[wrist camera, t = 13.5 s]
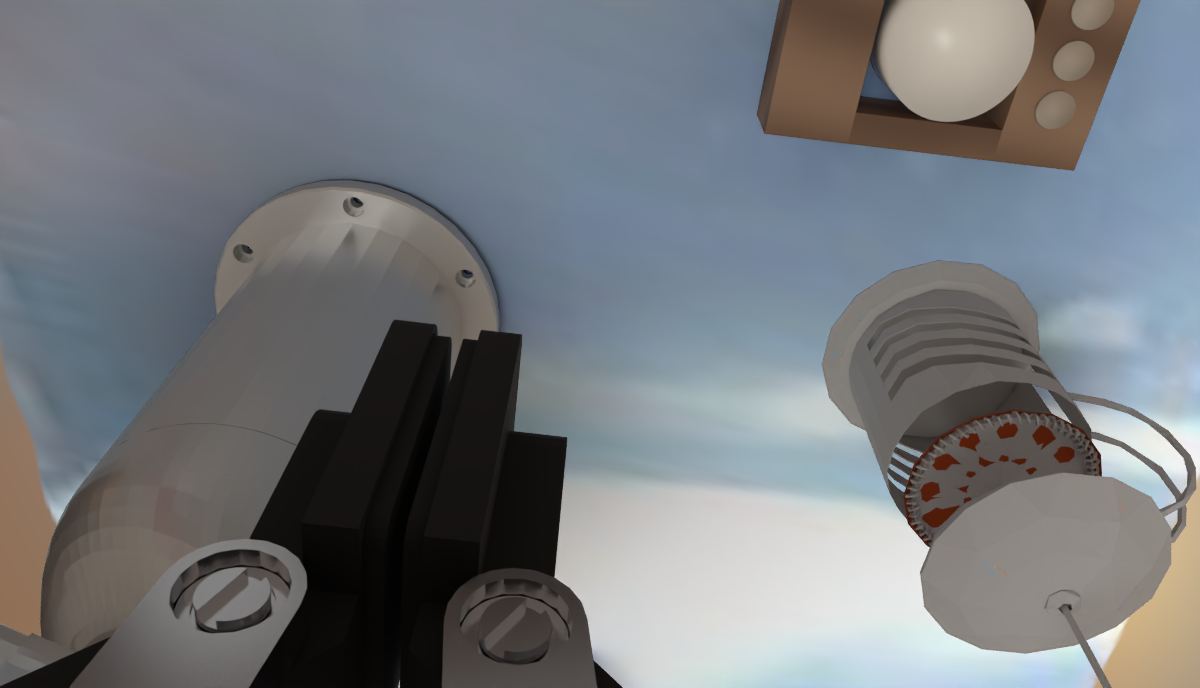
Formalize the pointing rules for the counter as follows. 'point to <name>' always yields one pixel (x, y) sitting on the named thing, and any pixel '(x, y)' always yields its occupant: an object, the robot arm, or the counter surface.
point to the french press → (997, 463)
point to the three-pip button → (952, 54)
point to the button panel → (1004, 133)
